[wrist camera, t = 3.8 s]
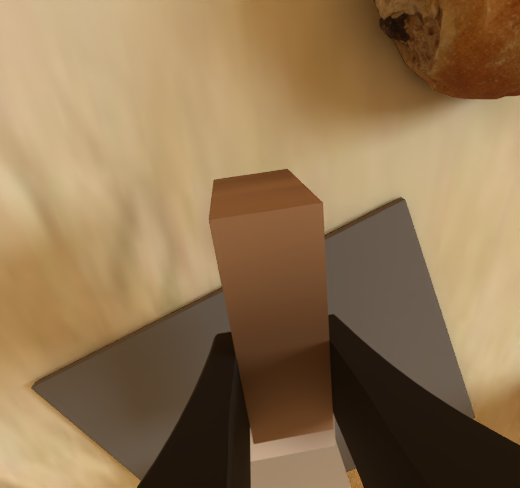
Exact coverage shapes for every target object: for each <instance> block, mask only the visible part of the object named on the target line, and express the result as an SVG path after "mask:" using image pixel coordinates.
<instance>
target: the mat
mask: <svg viewBox="0 0 520 488" xmlns="http://www.w3.org/2000/svg"><path fill="white" fill-rule="evenodd" d="M324 237H325V258H326V279H327V300H328V315H331V314H334V315H336V316H337V317H338V318H339V319H340V320H341V321H342V322H343V323H345V324H346V325H347V326H348V327H349V328H350V329H351V330H352V331H353V332H354V333H355V334H356V335H358V336H359V337H360V338H361V339H362V340H363V341H364V342H365V343H367V344H368V345H369V346H370V347H371V348H372V349H374V350H375V351H376V352H377V353H379V354H380V355H381V356H382V357H383V358H385V359H386V360H387V361H388V362H389V363H391V364H392V365H393V366H395V367H396V368H397V369H398V370H400V371H401V372H402V373H404V374H405V375H406V376H408V377H409V378H410V379H412V380H413V381H414V382H416V383H417V384H419V385H420V386H421V387H423V388H424V389H426V390H427V391H429V392H430V393H432V394H433V395H435V396H436V397H438V398H439V399H441V400H442V401H444V402H445V403H447V404H448V405H450V406H452V407H453V408H455V409H456V410H458V411H460V412H461V413H463V414H465V415H466V416H468V417H470V418H471V419H473V418H475V416H474V412H473V409H472V406H471V403H470V400H469V397H468V394H467V391H466V388H465V384H464V381H463V378H462V375H461V372H460V369H459V366H458V363H457V359H456V356H455V353H454V350H453V347H452V344H451V341H450V338H449V335H448V331H447V328H446V325H445V322H444V319H443V316H442V313H441V310H440V307H439V303H438V300H437V297H436V294H435V291H434V288H433V285H432V282H431V278H430V275H429V272H428V269H427V266H426V263H425V260H424V257H423V254H422V250H421V247H420V244H419V241H418V238H417V235H416V232H415V229H414V226H413V222H412V219H411V216H410V213H409V210H408V207H407V204H406V201H405V199H403V198H399V199H397V200H395V201H393V202H391V203H389V204H387V205H385V206H383V207H381V208H379V209H377V210H375V211H373V212H371V213H369V214H367V215H365V216H363V217H361V218H359V219H357V220H355V221H353V222H351V223H349V224H347V225H345V226H343V227H341V228H339V229H337V230H335V231H333V232H331V233H329V234H328V235H326V236H324ZM225 332H231V329H230V324H229V319H228V314H227V309H226V304H225V299H224V294H223V289H222V288H221V289H219V290H217V291H215V292H213V293H211V294H209V295H207V296H205V297H203V298H201V299H199V300H197V301H195V302H193V303H191V304H189V305H187V306H185V307H183V308H181V309H179V310H177V311H175V312H173V313H171V314H169V315H167V316H165V317H163V318H161V319H159V320H157V321H155V322H153V323H152V324H150V325H148V326H146V327H144V328H142V329H140V330H138V331H136V332H134V333H132V334H130V335H128V336H126V337H124V338H122V339H120V340H118V341H116V342H114V343H112V344H110V345H108V346H106V347H104V348H102V349H100V350H98V351H96V352H94V353H92V354H90V355H88V356H86V357H84V358H82V359H80V360H78V361H76V362H74V363H72V364H70V365H68V366H66V367H65V368H63V369H61V370H59V371H57V372H55V373H53V374H51V375H49V376H47V377H45V378H43V379H41V380H39V381H37V382H35V383H34V385H33V386H32V389H33V390H34V391H35V392H36V393H38V394H39V395H40V396H41V397H42V398H44V399H45V400H46V401H47V402H48V403H49V404H51V405H52V406H53V407H54V408H55V409H57V410H58V411H59V412H60V413H61V414H63V415H64V416H65V417H66V418H67V419H69V420H70V421H71V422H72V423H73V424H75V425H76V426H77V427H78V428H79V429H80V430H82V431H83V432H84V433H85V434H86V435H88V436H89V437H90V438H91V439H92V440H94V441H95V442H96V443H97V444H98V445H100V446H101V447H102V448H103V449H104V450H105V451H107V452H108V453H109V454H110V455H111V456H113V457H114V458H115V459H116V460H117V461H119V462H120V463H121V464H122V465H123V466H125V467H126V468H127V469H128V470H129V471H131V472H132V473H133V474H134V475H135V476H136V477H138V478H139V479H140V480H141V481H142V479H143V478H144V476H145V475H146V473H147V472H148V470H149V469H150V467H151V466H152V464H153V463H154V461H155V459H156V458H157V456H158V455H159V453H160V451H161V450H162V448H163V446H164V445H165V443H166V441H167V440H168V438H169V436H170V435H171V433H172V431H173V429H174V427H175V426H176V424H177V422H178V420H179V418H180V416H181V414H182V412H183V410H184V408H185V407H186V405H187V403H188V401H189V399H190V397H191V395H192V393H193V391H194V388H195V386H196V384H197V382H198V379H199V377H200V375H201V373H202V370H203V368H204V365H205V363H206V360H207V358H208V355H209V352H210V349H211V346H212V343H213V340H214V337H215V336H216V335H217V334H219V333H225ZM334 420H335V440H336V443H337V446H338V449H339V452H340V455H341V458H342V461H343V464H344V467H345V470H346V472H348V471H351V470H353V469H355V468H356V466H355V464H354V461H353V459H352V457H351V454H350V452H349V450H348V447H347V445H346V443H345V440H344V438H343V435H342V433H341V431H340V428H339V426H338V424H337V421H336V419H335V416H334Z"/></svg>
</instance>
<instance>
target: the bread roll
mask: <svg viewBox="0 0 520 488" xmlns="http://www.w3.org/2000/svg"><path fill="white" fill-rule="evenodd" d="M374 2H375V5H376V7H377V9H378V11H379V14H380V16H381V18H380V28H381V29H382V30H383V31H384V32H385V33H386V34H387V35H388V36H389V37H390V38H392V39H394V41H395V43H396V45H397V48H398V50H399V52H400V54H401V55H402V57H403V60H404V62H405V63H406V64H407V65H408V66H409V67H410V68H411V69H412V70H413V71H414V72H415V73H416V74H417V75H419V76H420V77H421V78H422V79H423V80H425V81H426V82H427V83H428V84H429V87H430V89H431V90H432V89H436V90H437V91H439V92H441V93H443V94H446V95H449V96H452V97H457V98H463V99H499V98H502V97H504V96H518V95H520V0H374Z"/></svg>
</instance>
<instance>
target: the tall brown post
mask: <svg viewBox="0 0 520 488" xmlns="http://www.w3.org/2000/svg"><path fill="white" fill-rule="evenodd" d="M209 224H210V229H211V234H212V239H213V244H214V249H215V254H216V259H217V264H218V269H219V274H220V279H221V284H222V289H223V294H224V299H225V304H226V309H227V314H228V319H229V324H230V329H231V334H232V339H233V344H234V349H235V354H236V358H237V363H238V368H239V373H240V378H241V383H242V388H243V393H244V398H245V403H246V408H247V413H248V418H249V423H250V461H251V462H252V461H257V460H262V459H267V458H273V457H278V456H283V455H288V454H294V453H299V452H304V451H309V450H314V449H320V448H325V447H330V446H335V445H336V442H335V420H334V414H333V405H332V384H331V363H330V342H329V321H328V300H327V279H326V258H325V237H324V216H323V202H322V201H321V200H320V199H318V198H317V197H316V196H315V195H314V194H313V193H312V192H311V191H310V190H309V189H308V188H307V187H306V186H305V185H304V184H303V183H302V182H301V181H300V180H299V179H298V178H296V177H295V176H294V175H293V174H292V173H291V172H290V171H289V170H288V169H284V170H277V171H270V172H264V173H257V174H250V175H243V176H236V177H230V178H223V179H216V180H214V182H213V190H212V198H211V206H210V215H209Z"/></svg>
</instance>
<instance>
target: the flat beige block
mask: <svg viewBox="0 0 520 488" xmlns="http://www.w3.org/2000/svg"><path fill="white" fill-rule="evenodd" d="M335 442H336V440H335ZM251 488H351V485H350V482H349V479H348V476H347V473H346V470H345V467H344V464H343V461H342V458H341V455H340V452H339V449H338V446H337V443H336V445H335V446H330V447H325V448H320V449H314V450H309V451H304V452H299V453H294V454H288V455H283V456H278V457H273V458H267V459H262V460H257V461H252V462H251Z"/></svg>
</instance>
